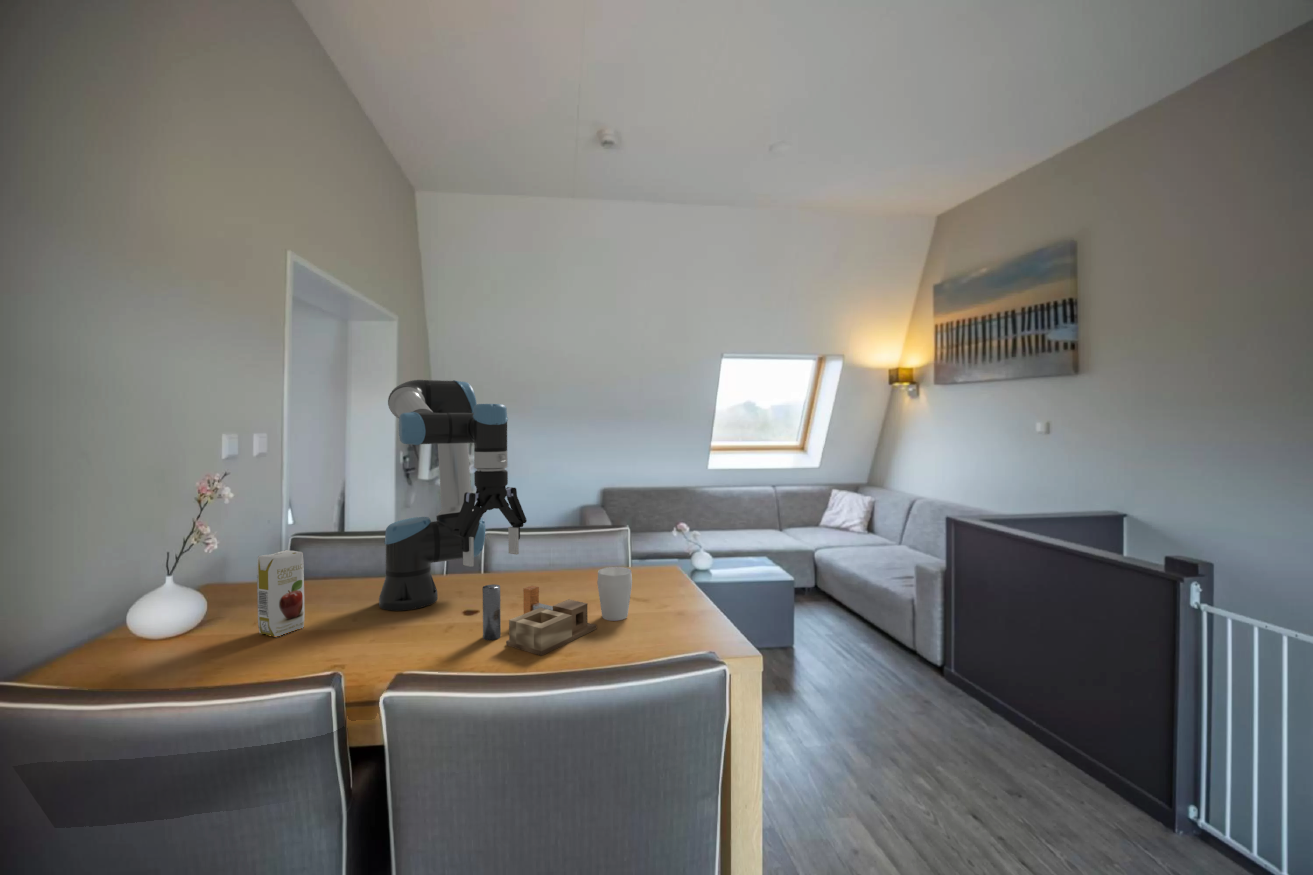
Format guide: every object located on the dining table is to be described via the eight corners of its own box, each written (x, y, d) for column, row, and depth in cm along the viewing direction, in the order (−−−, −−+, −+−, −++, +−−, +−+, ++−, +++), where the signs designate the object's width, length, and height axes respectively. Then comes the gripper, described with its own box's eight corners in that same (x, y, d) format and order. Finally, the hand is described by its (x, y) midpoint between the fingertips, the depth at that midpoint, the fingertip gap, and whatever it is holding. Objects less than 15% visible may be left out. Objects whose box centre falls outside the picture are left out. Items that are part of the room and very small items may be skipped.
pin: (523, 619, 145) (523, 588, 145) (532, 616, 147) (532, 585, 147) (566, 631, 137) (566, 597, 137) (574, 627, 140) (574, 594, 139)
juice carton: (253, 635, 136) (251, 556, 135) (288, 623, 144) (287, 548, 143) (275, 639, 133) (273, 559, 132) (309, 627, 141) (308, 551, 140)
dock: (506, 644, 130) (505, 616, 129) (562, 620, 146) (562, 595, 145) (541, 655, 124) (541, 626, 123) (596, 628, 140) (596, 602, 139)
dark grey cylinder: (479, 638, 134) (478, 587, 133) (492, 632, 137) (492, 583, 137) (491, 641, 132) (490, 590, 131) (504, 636, 135) (503, 586, 135)
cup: (627, 623, 143) (627, 576, 143) (593, 621, 145) (592, 574, 145) (635, 612, 152) (635, 567, 152) (603, 609, 154) (603, 565, 153)
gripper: (457, 474, 121) (458, 573, 121) (540, 466, 142) (541, 551, 142) (434, 472, 125) (436, 568, 125) (519, 465, 146) (519, 547, 146)
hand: (492, 559), depth 134 cm, fingers open, 13 cm apart
